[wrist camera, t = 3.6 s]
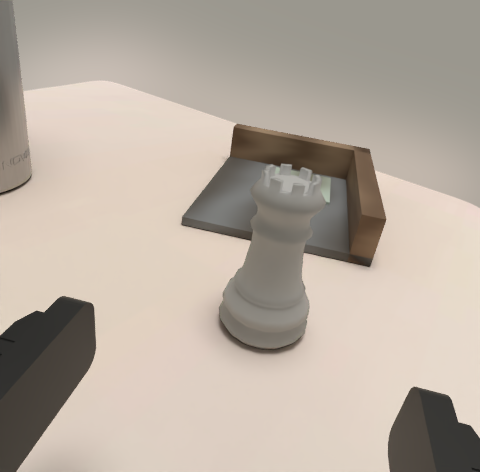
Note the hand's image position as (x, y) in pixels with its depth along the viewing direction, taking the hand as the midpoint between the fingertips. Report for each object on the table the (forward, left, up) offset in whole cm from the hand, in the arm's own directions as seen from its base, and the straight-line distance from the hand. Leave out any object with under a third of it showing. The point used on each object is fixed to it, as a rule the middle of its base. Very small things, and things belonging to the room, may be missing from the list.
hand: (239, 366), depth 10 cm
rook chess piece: (0, +9, -6) cm, 11 cm away
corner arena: (0, +25, -6) cm, 26 cm away
